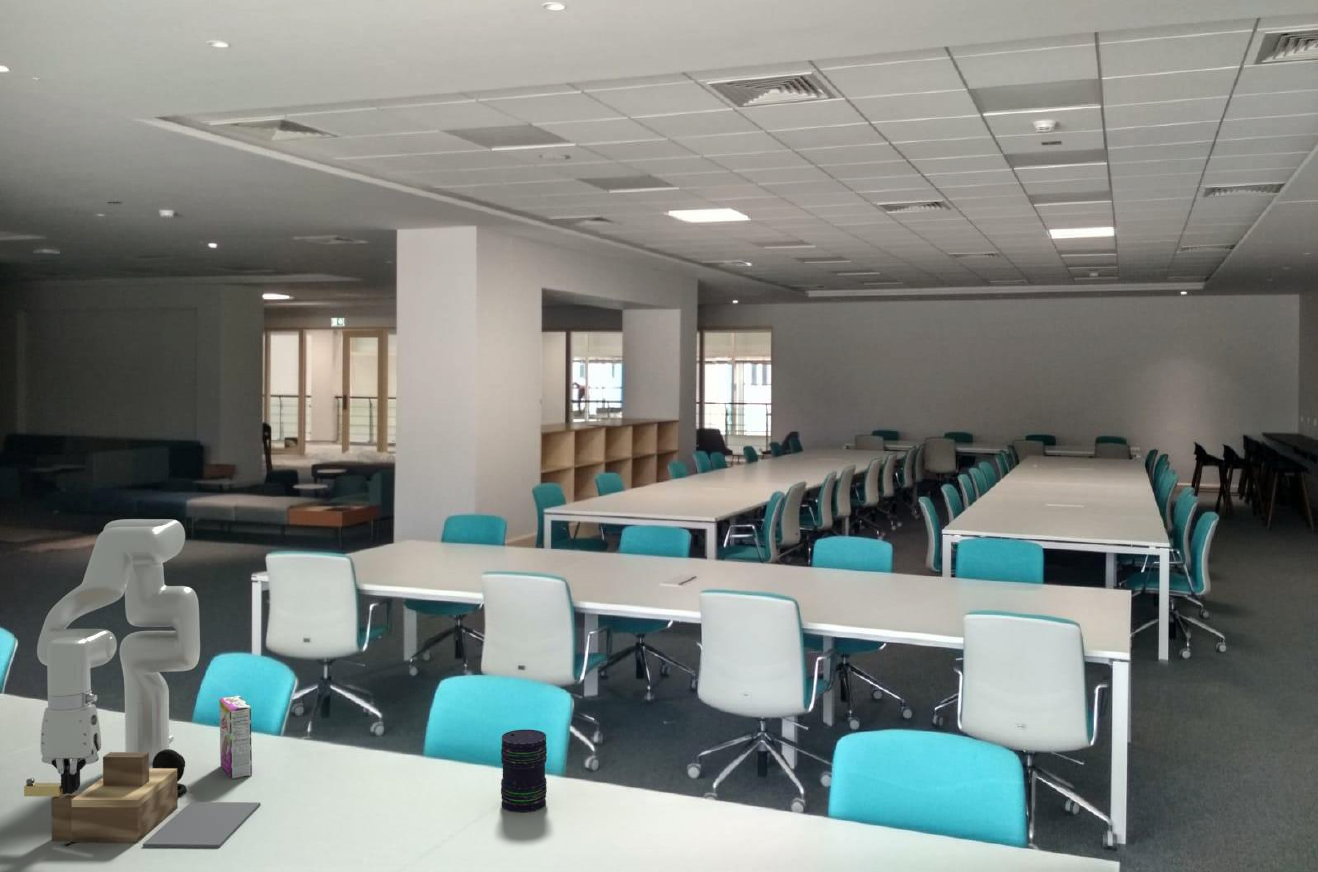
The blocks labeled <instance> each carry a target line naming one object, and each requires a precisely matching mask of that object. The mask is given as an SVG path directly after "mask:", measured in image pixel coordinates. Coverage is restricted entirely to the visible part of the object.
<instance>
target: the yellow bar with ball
mask: <svg viewBox="0 0 1318 872" xmlns="http://www.w3.org/2000/svg"><path fill="white" fill-rule="evenodd" d="M61 795H63V793H62V788H61V782H35V778H33V777H32V778H27V779H26V784H25V785H24V786H23V796H24V797H45V798H46V797H48V798H49V797H50V798H52V797H60V796H61Z"/></svg>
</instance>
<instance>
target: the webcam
mask: <svg viewBox="0 0 1318 872" xmlns="http://www.w3.org/2000/svg"><path fill="white" fill-rule="evenodd" d="M152 767H153V768H161V769H177V797H178V798H180V797H182V796H184V795H185V794H186V793H187V791H188V788H187V786H186V784H182V783H180V782H179V781H180V780H181V779H182V777H183V775H184V773H185V767H186V760H185V758H184V757H183V755H182V754H180V753H179V752H177V751H176V750H174V749H170V748H169V749H165V750H162V751H160V752H158V753H157V754H156V756H155V757H154V760H153V764H152Z"/></svg>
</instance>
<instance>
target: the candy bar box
mask: <svg viewBox="0 0 1318 872" xmlns="http://www.w3.org/2000/svg"><path fill="white" fill-rule="evenodd" d="M218 701H219V709H218V710H219V741H220V742H219V745H220V746H219V748H220V749H219V750H220V755H219V756H220V759H219V760H220V767H221V768H222V769H223V770H224V772H225V773H226V774H227V775H228V776H229V778H230V779H231V780H236V779H240V778H247V777H250V776H252V775H253V766H252V765H253V761H252V760H253V759H252V758H253V755H252V754H253V753H252V752H253V751H252V707H251V706H250V705H249V703H247V702H246V701H245V700H244V699H243V698H242V696H240V695H234V696H227V697H221V698H219V700H218Z"/></svg>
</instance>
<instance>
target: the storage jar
mask: <svg viewBox="0 0 1318 872" xmlns="http://www.w3.org/2000/svg"><path fill="white" fill-rule="evenodd" d="M547 749H548V747H547V734H546V733H545V732H544V731H540V730H536V729H517V730H516V729H513V730H511V731H507V732H505V733H503V734H502V735H501V748H500V756H501V758H500V760H501V764H502V778H501V782H500V785H501V787H500V797H501V808H502V809H503V810H505V811H507V812H510V813H517V814H518V813H521V814H523V813H533V812H537V811H540V810H542V809H544V808H545V807H546V805H547V800H546V798H547V792H548V791H547V787H548V786H547V783H548V782H547V777H546V762H547V757H548V756H547V753H548V752H547V751H548V750H547Z"/></svg>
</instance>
